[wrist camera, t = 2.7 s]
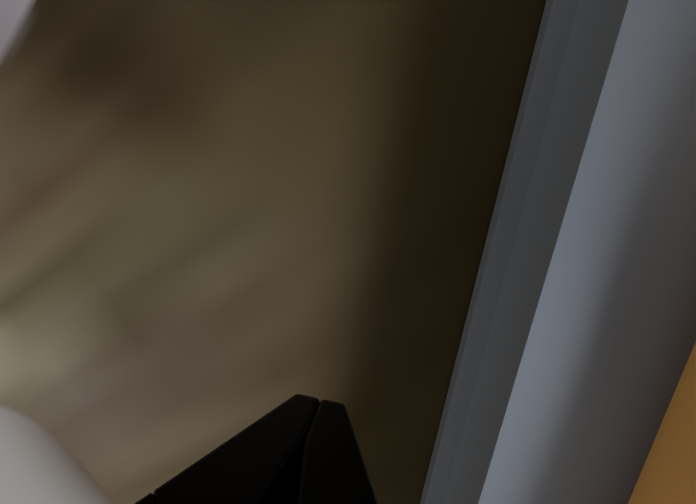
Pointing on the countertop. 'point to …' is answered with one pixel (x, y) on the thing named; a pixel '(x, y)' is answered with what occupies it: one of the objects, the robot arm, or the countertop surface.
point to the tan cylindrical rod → (673, 449)
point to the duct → (581, 267)
